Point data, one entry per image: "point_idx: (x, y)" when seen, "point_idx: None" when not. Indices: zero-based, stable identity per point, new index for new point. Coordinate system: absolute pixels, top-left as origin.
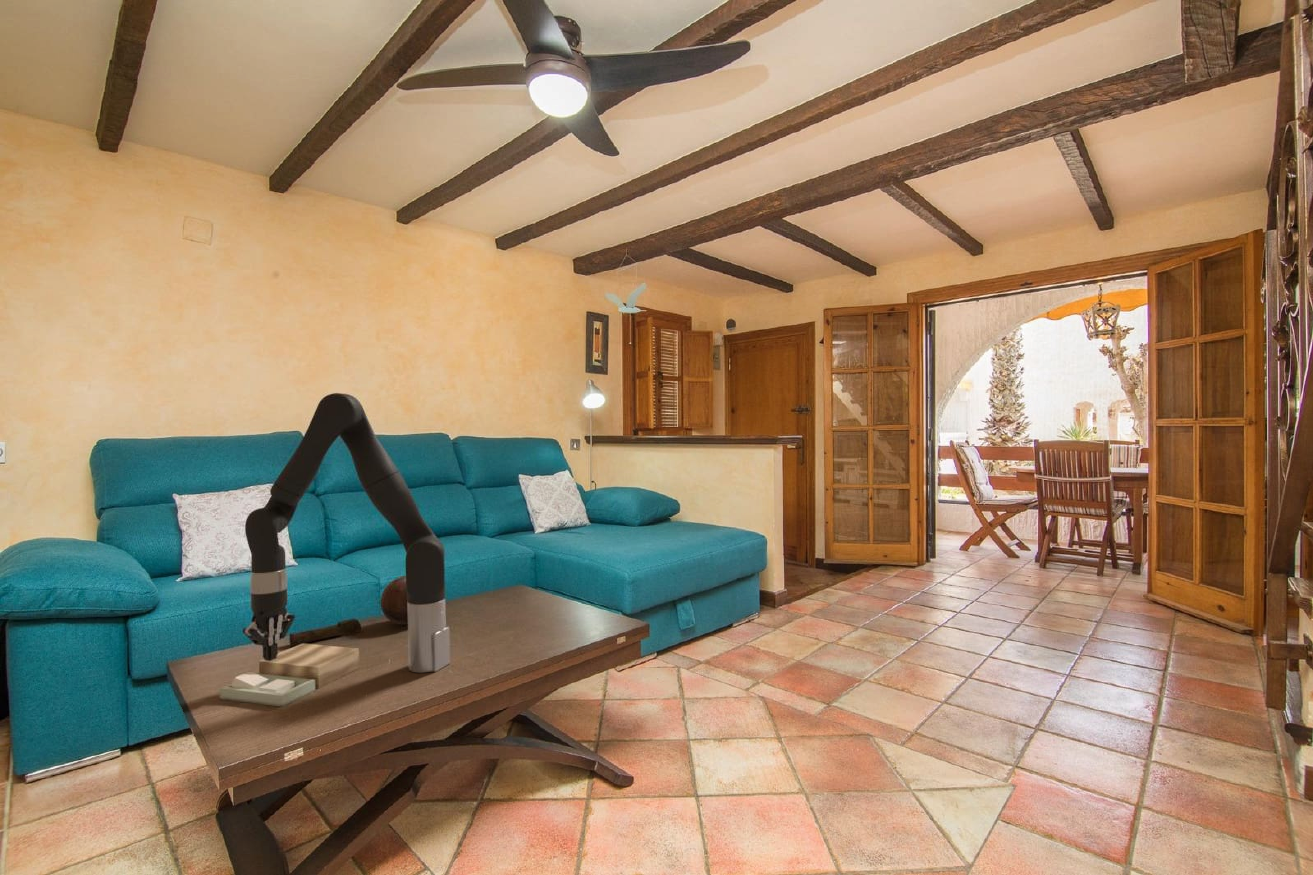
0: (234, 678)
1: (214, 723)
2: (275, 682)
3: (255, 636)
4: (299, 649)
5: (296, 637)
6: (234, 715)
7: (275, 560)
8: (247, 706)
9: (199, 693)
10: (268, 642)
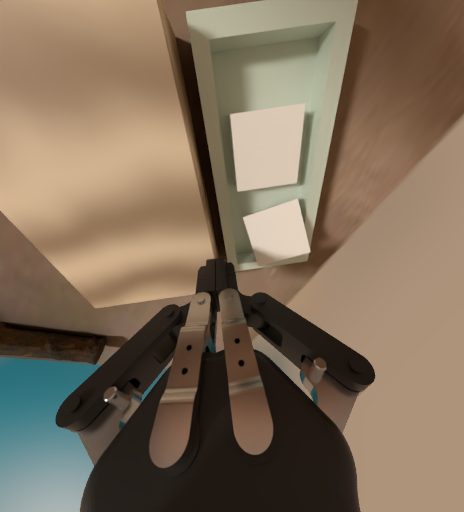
0: (309, 251)
1: (418, 137)
2: (257, 171)
3: (321, 333)
4: (118, 281)
5: (90, 351)
6: (378, 133)
7: None
8: (328, 157)
9: (284, 292)
10: (239, 300)
